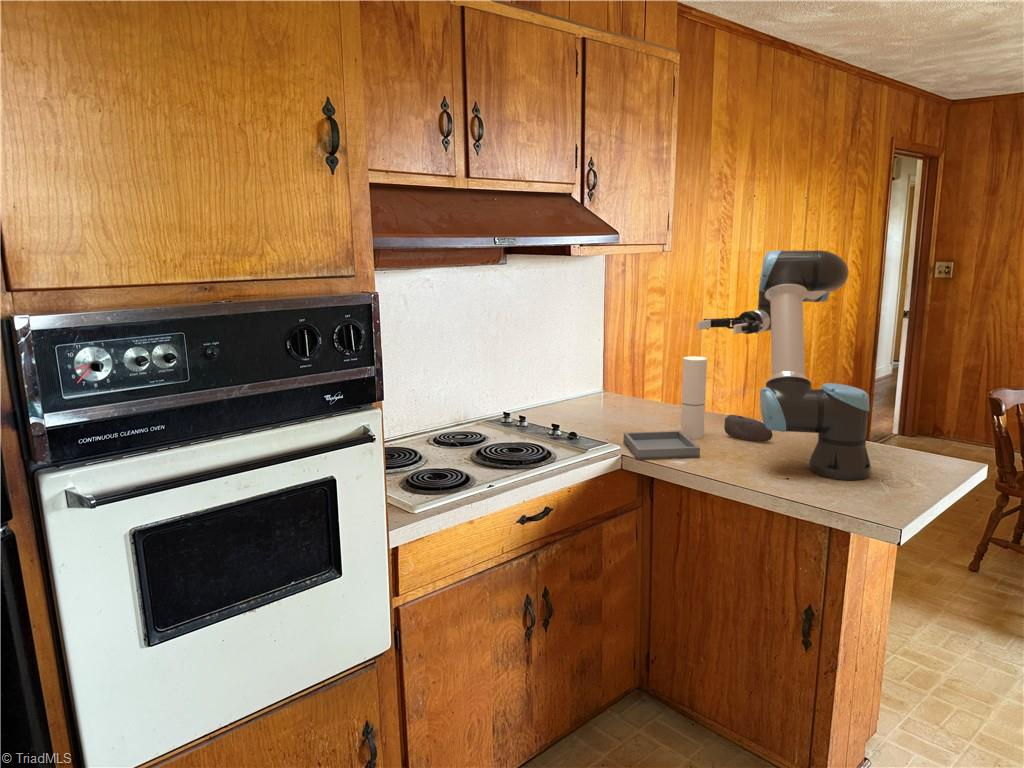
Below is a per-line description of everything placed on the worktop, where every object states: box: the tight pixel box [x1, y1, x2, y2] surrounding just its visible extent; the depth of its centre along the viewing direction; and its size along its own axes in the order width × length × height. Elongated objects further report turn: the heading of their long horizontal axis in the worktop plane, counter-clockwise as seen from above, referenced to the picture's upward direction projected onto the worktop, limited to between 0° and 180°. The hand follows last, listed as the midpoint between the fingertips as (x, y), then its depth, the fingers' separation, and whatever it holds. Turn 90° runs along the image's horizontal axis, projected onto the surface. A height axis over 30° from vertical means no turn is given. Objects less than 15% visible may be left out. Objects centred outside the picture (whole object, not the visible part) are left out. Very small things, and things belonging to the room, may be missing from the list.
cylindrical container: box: [680, 355, 708, 440], centre depth 228 cm, size 7×7×25 cm
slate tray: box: [623, 430, 701, 461], centre depth 217 cm, size 18×18×3 cm
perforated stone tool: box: [723, 414, 773, 443], centre depth 225 cm, size 15×5×7 cm, turn 46°
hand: (715, 327), depth 231 cm, fingers open, 13 cm apart
